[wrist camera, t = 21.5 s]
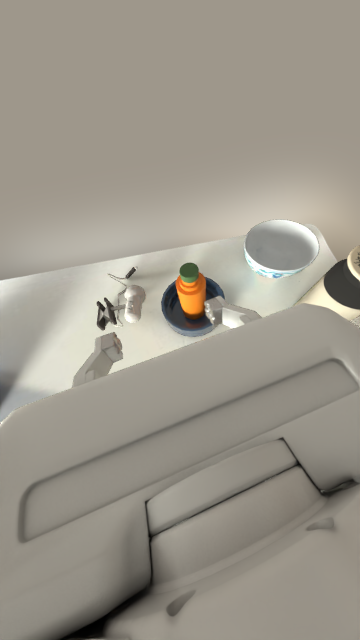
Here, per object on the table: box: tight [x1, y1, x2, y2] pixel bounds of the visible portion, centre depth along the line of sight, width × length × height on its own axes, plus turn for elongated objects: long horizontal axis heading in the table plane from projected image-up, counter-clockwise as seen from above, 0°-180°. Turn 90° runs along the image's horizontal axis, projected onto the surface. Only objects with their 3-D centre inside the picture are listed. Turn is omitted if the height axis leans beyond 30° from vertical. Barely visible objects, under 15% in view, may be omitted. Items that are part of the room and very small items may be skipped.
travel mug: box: [294, 245, 360, 321], centre depth 29 cm, size 8×8×18 cm
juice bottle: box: [176, 263, 206, 320], centre depth 35 cm, size 6×6×14 cm
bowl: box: [161, 277, 225, 337], centre depth 40 cm, size 14×14×4 cm
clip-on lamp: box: [97, 267, 146, 330], centre depth 43 cm, size 12×6×18 cm
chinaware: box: [244, 220, 319, 278], centre depth 40 cm, size 15×15×8 cm
